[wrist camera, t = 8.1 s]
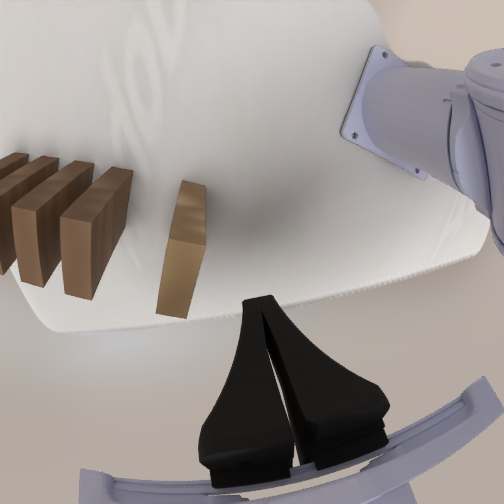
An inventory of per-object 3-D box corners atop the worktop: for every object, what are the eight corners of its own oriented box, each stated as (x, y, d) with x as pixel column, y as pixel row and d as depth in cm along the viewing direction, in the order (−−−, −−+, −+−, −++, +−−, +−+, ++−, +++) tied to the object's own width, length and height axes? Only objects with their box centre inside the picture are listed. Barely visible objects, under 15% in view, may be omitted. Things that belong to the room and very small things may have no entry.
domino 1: (204, 185, 18) (206, 246, 12) (189, 240, 20) (186, 318, 14) (182, 180, 18) (168, 238, 11) (168, 236, 20) (155, 313, 13)
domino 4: (58, 158, 15) (-8, 202, 8) (56, 213, 17) (3, 275, 10) (42, 155, 14) (-27, 198, 8) (40, 210, 17) (-15, 269, 10)
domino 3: (94, 163, 16) (35, 211, 9) (88, 220, 18) (43, 287, 11) (74, 160, 15) (11, 206, 9) (70, 216, 17) (21, 281, 11)
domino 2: (133, 170, 17) (91, 223, 10) (124, 227, 19) (91, 300, 12) (112, 166, 16) (59, 216, 10) (105, 223, 18) (64, 293, 12)
